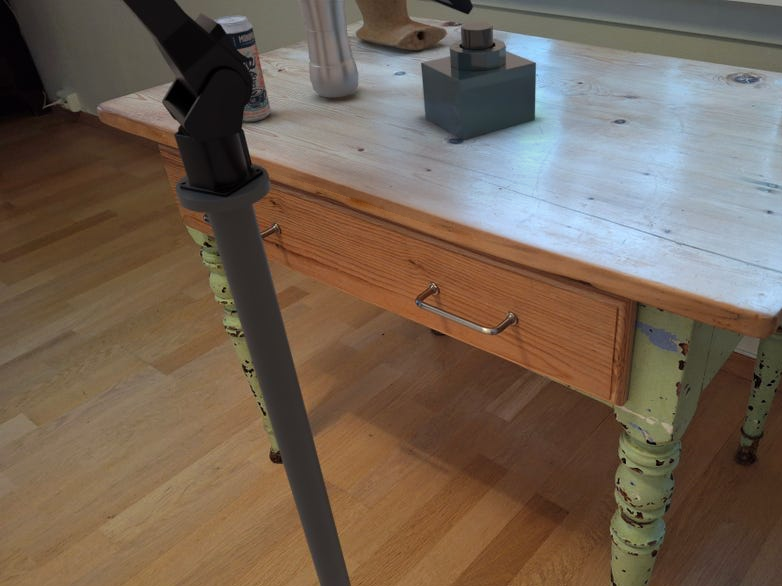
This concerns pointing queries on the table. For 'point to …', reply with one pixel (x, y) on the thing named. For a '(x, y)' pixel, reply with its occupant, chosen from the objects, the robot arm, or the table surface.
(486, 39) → the grey push button
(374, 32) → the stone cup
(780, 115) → the table surface
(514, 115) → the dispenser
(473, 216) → the table surface
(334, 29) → the plastic bottle
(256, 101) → the beer can
